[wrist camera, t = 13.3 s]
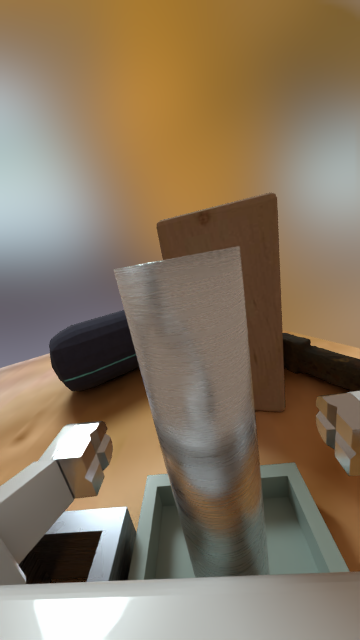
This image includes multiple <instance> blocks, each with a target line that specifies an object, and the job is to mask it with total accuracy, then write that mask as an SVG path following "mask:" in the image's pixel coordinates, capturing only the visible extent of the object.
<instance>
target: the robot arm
mask: <svg viewBox="0 0 360 640" xmlns="http://www.w3.org/2000/svg"><path fill="white" fill-rule="evenodd" d="M316 406H317V408H318V409H319V410H320V411H319V412H318V414H317V415H316V425H317V428H318V432H319V434H320V436H321V438H322V439H323V440H324V442H325V443H326V444H327V445H328V446H330V447H332V448H333V449H335V457H336V459H337V460H338V461H339V463H340V464H341V465H342V467H343V468H344V470H345V471H346V472H347V474H348V475H349V476H359V475H360V391H354V392H347V393H341V394H333V395H324V396H318V397H317V399H316ZM106 431H107V426H106V424H105V422H103V421H97V422H85V423H77V424H67V425H66V426H64V427H63V428H62V430H61V431H60V432H59V434H58V435H57V436H56V438H55V439H54V440H53V442H52V443H51V444H50V446H49V447H48V448H47V450H46V451H45V452H44V454H43V455H42V457H41V458H40V459H39V461H38V462H33V463H32V464H30V465H29V466H28V467H26V468H25V469H23V470H22V471H21V472H19V473H18V474H17V475H15V476H14V477H13V478H11V479H10V480H8V481H7V482H6V483H4V484H3V485H2V486H0V640H360V571H358V572H331V573H305V574H278V575H252V576H226V577H200V578H175V579H149V580H124V581H98V582H73V583H47V584H26V576H25V575H24V573H23V571H22V570H21V568H20V567H19V564H20V562H21V561H22V560H23V559H24V558H25V557H26V555H27V554H28V553H29V552H30V551H31V550H32V548H33V547H34V546H35V545H36V544H37V543H38V541H39V540H40V539H41V538H42V537H43V536H44V534H45V533H46V532H47V531H48V530H49V529H50V528H51V526H52V525H53V524H54V523H55V522H56V521H57V519H58V518H59V517H60V516H61V515H62V514H63V512H64V511H65V510H66V509H67V508H68V507H69V505H70V504H71V503H72V502H73V501H74V499H75V498H84V497H92V496H97V495H98V492H99V489H100V487H101V484H102V482H103V479H104V477H105V476H104V473H103V470H104V469H105V468H106V467H107V466H108V465H109V464H110V461H111V458H112V452H113V445H112V440H111V437H109V436H108V435H107V434H105V433H106Z"/></svg>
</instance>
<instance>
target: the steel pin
mask: <svg viewBox="0 0 360 640" xmlns="http://www.w3.org/2000/svg"><path fill="white" fill-rule="evenodd" d="M114 272H115V276H116V280H117V284H118V288H119V291H120V295H121V299H122V302H123V306H124V310H125V314H126V318H127V322H128V326H129V329H130V333H131V337H132V341H133V344H134V348H135V352H136V356H137V360H138V363H139V367H140V371H141V375H142V378H143V382H144V386H145V390H146V394H147V397H148V401H149V405H150V409H151V413H152V416H153V420H154V424H155V428H156V431H157V435H158V439H159V443H160V447H161V450H162V454H163V458H164V462H165V466H166V469H167V473H168V477H169V481H170V484H171V488H172V492H173V496H174V500H175V503H176V507H177V511H178V515H179V518H180V522H181V526H182V530H183V534H184V537H185V541H186V545H187V549H188V553H189V556H190V560H191V564H192V568H193V571H194V575H195V578H200V577H226V576H252V575H270V570H269V560H268V549H267V538H266V527H265V516H264V505H263V494H262V483H261V472H260V462H259V451H258V440H257V429H256V418H255V407H254V396H253V385H252V374H251V363H250V353H249V342H248V331H247V320H246V309H245V298H244V287H243V276H242V265H241V255H240V246H237V247H231V248H226V249H221V250H215V251H210V252H204V253H199V254H194V255H188V256H183V257H178V258H172V259H167V260H162V261H156V262H151V263H146V264H141V265H135V266H130V267H125V268H120V269H115V270H114Z"/></svg>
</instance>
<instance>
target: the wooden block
mask: <svg viewBox="0 0 360 640" xmlns="http://www.w3.org/2000/svg"><path fill="white" fill-rule="evenodd" d="M157 232H158V237H159V242H160V247H161V253H162V257H163V260H167V259H172V258H178V257H183V256H188V255H194V254H199V253H204V252H210V251H215V250H221V249H226V248H231V247H237V246H240V255H241V265H242V276H243V287H244V298H245V309H246V320H247V331H248V342H249V353H250V363H251V374H252V385H253V396H254V407H255V410H261V411H277V412H281V411H284V409H285V386H284V361H283V336H282V311H281V288H280V261H279V238H278V237H279V235H278V210H277V197H276V195H275V194H274V193H266V194H262V195H259V196H254V197H251V198H247V199H243V200H239V201H235V202H231V203H227V204H224V205H219V206H215V207H211V208H208V209H204V210H200V211H196V212H192V213H188V214H184V215H180V216H176V217H173V218H168V219H164V220H161V221H160V222H158V223H157Z"/></svg>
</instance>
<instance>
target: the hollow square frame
mask: <svg viewBox="0 0 360 640" xmlns="http://www.w3.org/2000/svg"><path fill="white" fill-rule="evenodd" d="M135 539H136V531H135V528H134V525H133V523H132V520H131V517H130V514H129V511H128V509H127V507H118V508H104V509H91V510H78V511H64V512H63V514H62V515H61V516H60V517H59V518H58V519H57V521H56V522H55V523H54V524H53V525H52V526H51V528H50V529H49V530H48V531H47V532H46V533H45V534H44V536H43V537H42V538H41V539H40V540H39V541H38V543H37V544H36V545H35V546H34V547H33V548H32V550H31V551H30V552H29V553H28V554H27V555H26V557H25V558H24V559H23V560H22V561H21V562H20V564H19V567H20V568H21V570H22V571H23V573H24V575H25V576H26V584H47V583H50V581H51V579H73V578H88V579H87V582H98V581H124V580H128V576H129V570H130V565H131V560H132V555H133V549H134V544H135Z"/></svg>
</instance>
